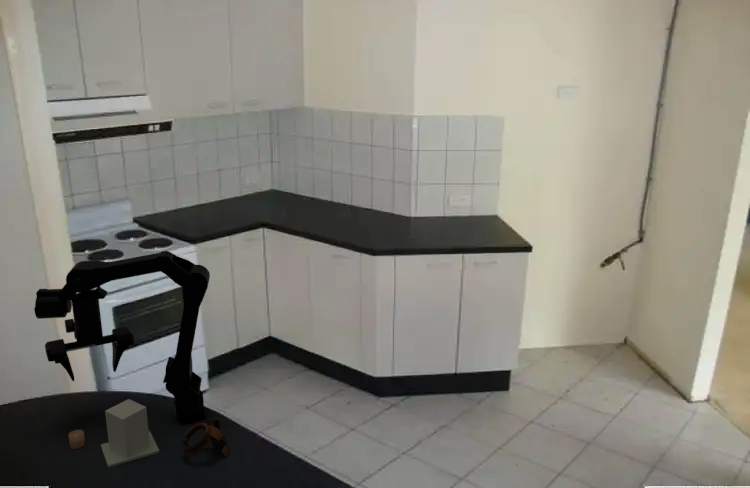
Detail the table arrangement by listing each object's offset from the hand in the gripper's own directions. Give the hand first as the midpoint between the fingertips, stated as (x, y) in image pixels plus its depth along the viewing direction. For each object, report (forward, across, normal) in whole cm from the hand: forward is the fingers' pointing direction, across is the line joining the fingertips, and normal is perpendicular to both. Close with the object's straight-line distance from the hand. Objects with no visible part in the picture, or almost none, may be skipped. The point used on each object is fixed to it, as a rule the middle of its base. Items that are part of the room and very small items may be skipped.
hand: (94, 375), depth 152 cm
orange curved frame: (+13, -19, +24) cm, 34 cm away
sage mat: (+13, -4, +15) cm, 20 cm away
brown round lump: (+13, +6, +7) cm, 16 cm away
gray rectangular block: (+12, -4, +15) cm, 20 cm away
